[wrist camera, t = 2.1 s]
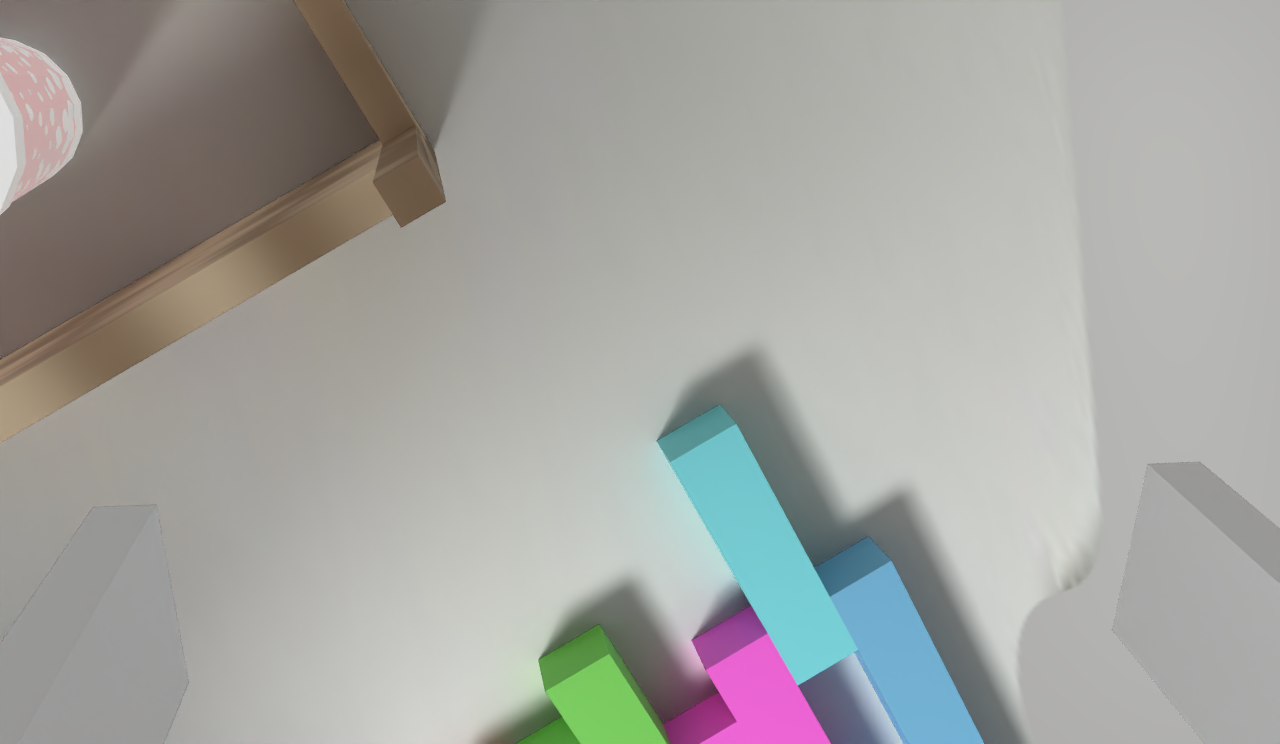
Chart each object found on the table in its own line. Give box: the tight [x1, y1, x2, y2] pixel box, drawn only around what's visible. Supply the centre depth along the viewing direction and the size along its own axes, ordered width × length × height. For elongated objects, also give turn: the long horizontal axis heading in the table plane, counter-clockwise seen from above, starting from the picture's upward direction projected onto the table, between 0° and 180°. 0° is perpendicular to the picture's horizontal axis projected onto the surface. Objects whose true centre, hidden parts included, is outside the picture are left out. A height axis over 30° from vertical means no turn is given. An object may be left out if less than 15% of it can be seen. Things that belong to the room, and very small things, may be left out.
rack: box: [0, 0, 446, 443], centre depth 30 cm, size 22×9×13 cm, turn 118°
